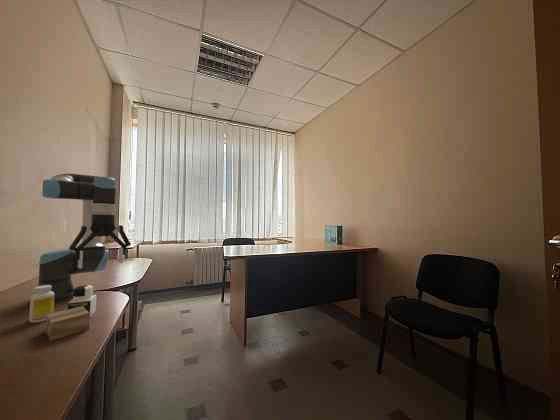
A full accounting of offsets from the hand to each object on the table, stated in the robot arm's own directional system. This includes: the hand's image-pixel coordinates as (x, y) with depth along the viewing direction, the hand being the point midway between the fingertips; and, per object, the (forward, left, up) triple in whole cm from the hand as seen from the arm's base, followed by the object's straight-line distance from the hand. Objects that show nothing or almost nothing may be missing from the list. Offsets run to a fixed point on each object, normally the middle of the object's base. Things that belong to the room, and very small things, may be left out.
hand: (101, 265), depth 94 cm
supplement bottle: (-13, -15, -21) cm, 29 cm away
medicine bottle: (-5, -4, -21) cm, 22 cm away
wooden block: (+6, -10, -21) cm, 24 cm away
